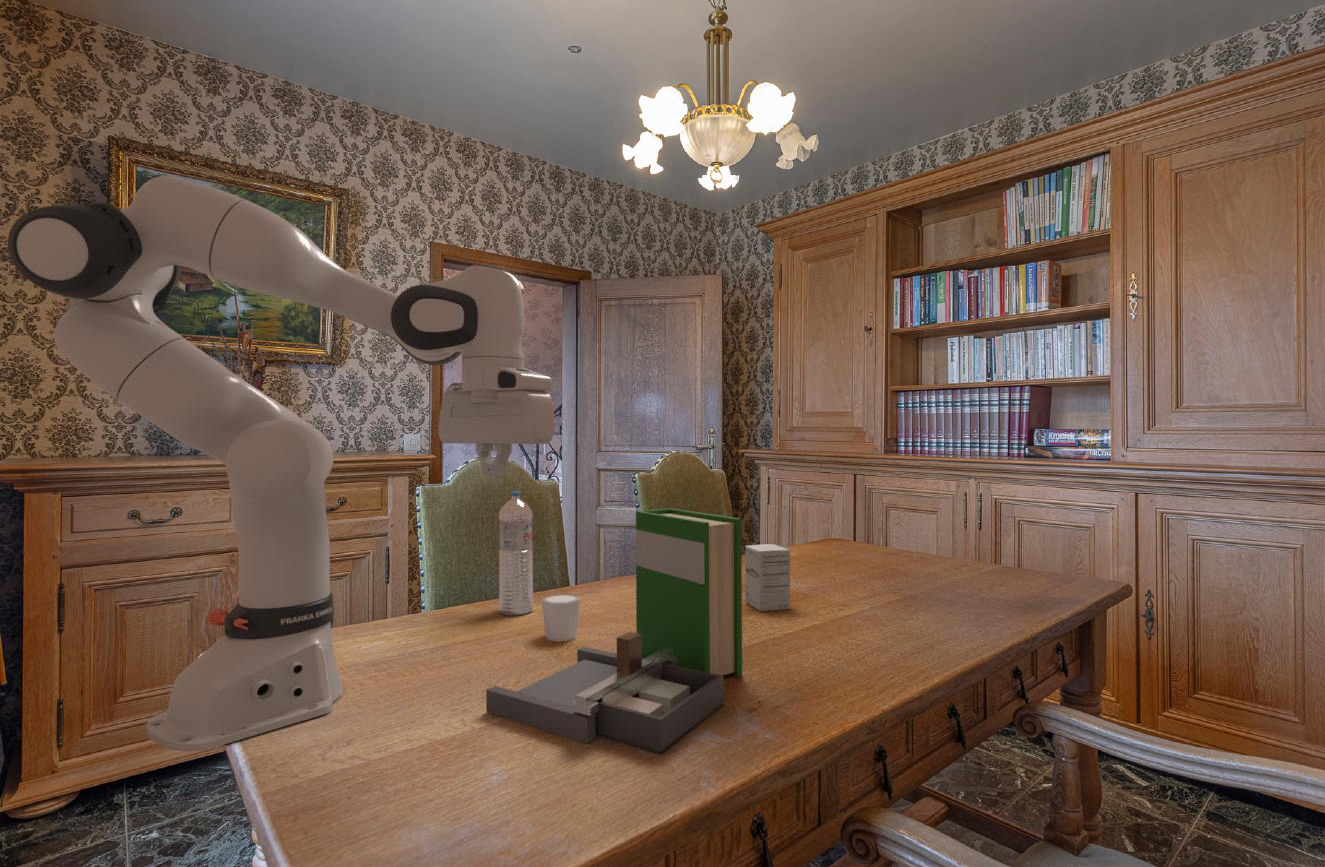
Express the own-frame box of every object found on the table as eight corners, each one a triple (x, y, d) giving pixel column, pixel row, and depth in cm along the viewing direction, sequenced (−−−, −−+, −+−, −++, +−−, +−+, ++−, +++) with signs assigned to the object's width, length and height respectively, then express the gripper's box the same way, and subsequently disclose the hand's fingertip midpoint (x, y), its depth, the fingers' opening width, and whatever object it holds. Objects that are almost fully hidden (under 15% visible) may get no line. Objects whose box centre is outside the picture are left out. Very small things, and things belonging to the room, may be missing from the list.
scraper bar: (590, 725, 78) (590, 660, 78) (571, 719, 80) (570, 656, 80) (678, 671, 96) (678, 618, 96) (660, 667, 98) (660, 615, 98)
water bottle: (519, 605, 142) (518, 489, 142) (539, 611, 138) (539, 491, 138) (492, 612, 137) (491, 492, 137) (513, 618, 132) (512, 493, 132)
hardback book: (742, 676, 100) (741, 518, 100) (704, 687, 96) (704, 522, 96) (671, 646, 115) (671, 508, 115) (636, 655, 110) (635, 511, 110)
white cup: (572, 643, 116) (572, 604, 116) (536, 641, 118) (535, 602, 118) (585, 632, 123) (584, 594, 123) (550, 630, 124) (550, 592, 124)
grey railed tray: (587, 743, 79) (587, 718, 79) (486, 712, 88) (486, 689, 88) (675, 686, 96) (675, 666, 96) (583, 665, 105) (583, 646, 105)
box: (661, 754, 76) (661, 719, 76) (579, 730, 82) (579, 698, 82) (723, 705, 90) (723, 675, 90) (649, 687, 96) (649, 660, 96)
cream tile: (641, 735, 80) (640, 719, 80) (607, 725, 83) (607, 709, 83) (662, 720, 84) (662, 704, 84) (630, 711, 87) (630, 696, 87)
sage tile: (670, 714, 86) (670, 699, 86) (638, 706, 89) (638, 691, 88) (689, 700, 90) (689, 686, 90) (658, 693, 93) (658, 679, 93)
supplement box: (744, 603, 143) (744, 545, 143) (775, 600, 145) (774, 543, 145) (759, 611, 136) (759, 550, 136) (791, 608, 138) (791, 548, 138)
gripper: (428, 382, 98) (428, 474, 98) (530, 375, 88) (530, 479, 88) (461, 384, 104) (461, 472, 104) (561, 378, 93) (561, 476, 93)
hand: (493, 475), depth 96 cm, fingers closed
